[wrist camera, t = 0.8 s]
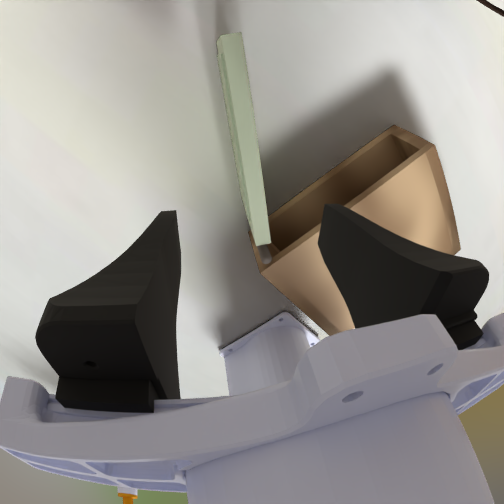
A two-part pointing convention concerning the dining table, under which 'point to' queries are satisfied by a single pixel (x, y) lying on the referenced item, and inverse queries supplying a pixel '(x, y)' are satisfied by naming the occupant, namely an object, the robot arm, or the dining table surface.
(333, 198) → the cabinet
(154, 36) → the dining table surface
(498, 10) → the coffee mug
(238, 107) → the door
